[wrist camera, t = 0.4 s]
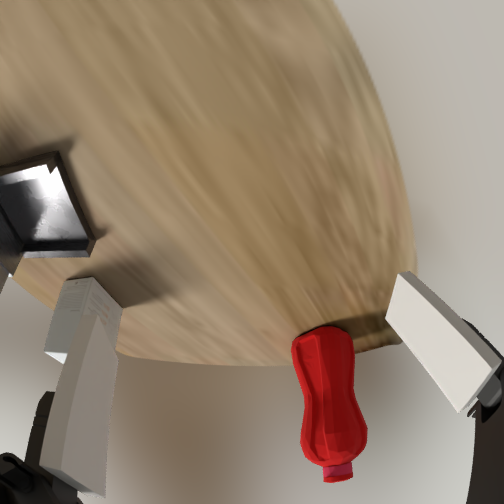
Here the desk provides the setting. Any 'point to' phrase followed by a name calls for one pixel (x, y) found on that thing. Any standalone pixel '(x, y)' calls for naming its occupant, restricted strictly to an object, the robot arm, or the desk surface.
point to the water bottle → (329, 401)
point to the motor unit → (39, 214)
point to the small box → (80, 314)
